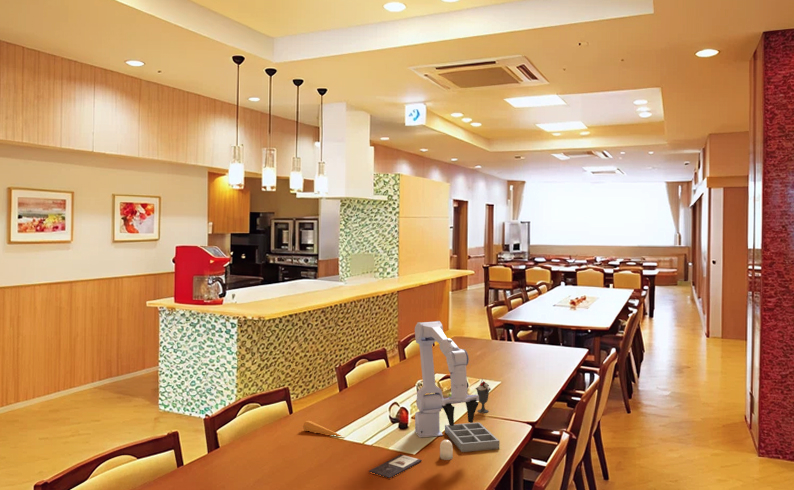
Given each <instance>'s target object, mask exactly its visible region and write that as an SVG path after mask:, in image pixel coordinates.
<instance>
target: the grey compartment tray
mask: <svg viewBox="0 0 794 490" xmlns="http://www.w3.org/2000/svg"><path fill="white" fill-rule="evenodd" d="M444 433H445V434H446V436H448V439H450V441H451V442H452V444H454V445H455V446H456V448H457V449H458V450H459V451H460V452H461V453H467V452H469V453H470V452H478V451H489V450H490V451H491V450H500V439H498V438H497V437H496V436H495V435H494V434H493V433H492V432H491V431H490V430H488V429H487V428H486V427H485V426H484V425H483V424H482V423H481V422H479V421H478V422H473V423H470V422H467V423H456V424H455V423H454V426H451V425H449V424H444Z"/></svg>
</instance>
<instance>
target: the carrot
mask: <svg viewBox="0 0 794 490" xmlns="http://www.w3.org/2000/svg"><path fill="white" fill-rule="evenodd" d="M302 429H303V431H305V432H306V431H310V432H316V433H322V434H329V435H336V436H342V435H341V434H339V433H337V432H335V431H334V430H331V429H329V428H326V427H324V426H322V425H320V424H318V423H316V422H314V421H312V420H306V421H304V423H303V424H302ZM310 432H309V433H310ZM316 433H315V434H316ZM322 434H321V435H322Z"/></svg>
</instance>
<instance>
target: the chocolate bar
mask: <svg viewBox="0 0 794 490" xmlns="http://www.w3.org/2000/svg"><path fill="white" fill-rule="evenodd" d="M421 461H423V459H420V458H416V457H412V456H408V455H404V454H402V453H401V454H399V455H397V456H395V457H392V458H391V459H388V460H387V461H385V462H383V463H381V464H379V465H378V466H376V467H373V468H371V469H370V470H368V471H369V472H372V473H375V474H378V475H381V476H384V477H387V478H391V477H393V476H395V475H397V474H399V473H401V472H402V473H403V471H404V472H406V471H408V470H409V469H411V468H413V467H414V465H415V466H416V465H418V464H420V463H422V462H421ZM412 466H413V467H412ZM410 467H411V468H410ZM408 468H409V469H408ZM407 469H408V470H407ZM405 470H406V471H405ZM402 473H401V474H402ZM399 475H400V474H399ZM381 476H380V477H381ZM397 476H398V475H397ZM384 477H383V478H384ZM395 477H396V476H395ZM387 478H386V479H387ZM393 478H394V477H393Z"/></svg>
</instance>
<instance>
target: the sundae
mask: <svg viewBox="0 0 794 490" xmlns="http://www.w3.org/2000/svg"><path fill="white" fill-rule="evenodd" d="M475 390H476V395H479V401H478V403H480V404H481V408H480V409H478V410H477V412H478V413H480V414H487V413H489V412H490V411H489V410H488V409H486V407H485V405H486V403H487V402H488V401H489V393H490V391H491V390H492V389H491V387H490V385H489V384H488V383H487V382H486V381H484V380H483V379H481V382H480V384H479V385H478V386H477V387H475Z"/></svg>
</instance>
